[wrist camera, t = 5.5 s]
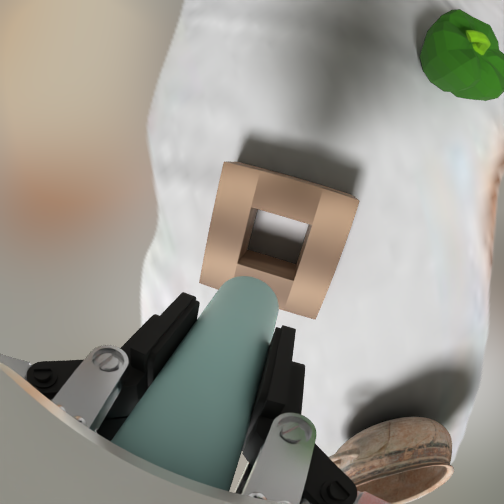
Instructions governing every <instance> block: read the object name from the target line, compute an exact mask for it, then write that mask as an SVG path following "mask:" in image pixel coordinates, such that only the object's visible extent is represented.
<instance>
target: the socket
mask: <svg viewBox="0 0 504 504" xmlns="http://www.w3.org/2000/svg"><path fill="white" fill-rule="evenodd" d="M358 204H359V200H358V199H357V198H355V197H354V196H353V195H351V194H348V193H345V192H342V191H339V190H336V189H333V188H330V187H326V186H323V185H320V184H317V183H314V182H310V181H307V180H304V179H300V178H297V177H293V176H290V175H286V174H283V173H279V172H275V171H271V170H268V169H264V168H260V167H256V166H252V165H248V164H244V163H240V162H224V164H223V168H222V172H221V177H220V181H219V186H218V190H217V195H216V199H215V204H214V209H213V214H212V218H211V223H210V228H209V233H208V238H207V244H206V249H205V254H204V259H203V265H202V270H201V276H200V281H199V283H201V284H204V285H207V286H209V287H212V288H215V289H218V290H219V289H220V287H221V286H222V285H223V284H224V283H225V282H226V281H228V280H229V279H232V278H234V277H239V276H249V277H253V278H256V279H259V280H261V281H263V282H264V283H266V284H267V285H268V286H269V287H270V288H271V289H272V290H273V292H274V293H275V295H276V297H277V300H278V305H279V309H281V310H284V311H288V312H291V313H294V314H298V315H301V316H305V317H308V318H311V319H316V317H317V315H318V312H319V310H320V308H321V305H322V303H323V300H324V298H325V295H326V293H327V291H328V288H329V286H330V283H331V280H332V278H333V275H334V273H335V270H336V267H337V265H338V262H339V259H340V257H341V254H342V251H343V249H344V246H345V243H346V240H347V237H348V234H349V231H350V229H351V226H352V223H353V220H354V217H355V214H356V210H357V207H358ZM258 209H259V210H263V211H266V212H270V213H273V214H277V215H280V216H284V217H287V218H290V219H294V220H297V221H300V222H303V223H307V224H309V226H308V229H307V233H306V236H305V239H304V242H303V245H302V248H301V251H300V255H299V258H298V261H297V264H294V263H290V262H287V261H284V260H281V259H277V258H274V257H271V256H268V255H264V254H261V253H258V252H254V251H251V250H248V245H249V241H250V237H251V233H252V229H253V225H254V221H255V217H256V214H257V210H258Z"/></svg>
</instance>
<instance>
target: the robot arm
mask: <svg viewBox="0 0 504 504" xmlns="http://www.w3.org/2000/svg"><path fill="white" fill-rule="evenodd" d="M198 310H199V301H196V297H195V296H192V295H189V294H187V293H184V292H183V293H181V294H180V295H179V296H178V297H177V299H176V300H175V301H174V302H173V303H172V304H171V305H170V306H169V307H168V308H167V309H166V310H165V311H164V312H163V313H162V314H161V315H160V316H159V315H156V314H155V315H153V316H152V317H151V318H150V319H149V320H148V321H147V322H146V323H145V324H144V325H143V326H142V327H141V328H140V329H139V330H138V331H137V332H136V333H135V334H134V335H133V336H132V337H131V338H130V339H129V340H128V341H127V342H126V343H125V344H124V345H123V346H122V347H121V348H118V347H116V346H112V345H103V346H99V347H96V348H94V349H93V350H92V351H91V352H90V353H89V354H88V355H87V357H86V358H85V359H84V360H70V361H43V362H37V363H35V364H33V365H31V364H30V362H27V361H24V360H19V359H16V358H12V357H9V356H5V355H2V354H0V504H391V503H389V502H387V501H384V500H382V499H380V498H378V497H376V496H374V495H372V494H370V493H368V492H366V491H364V492H360V491H358V490H357V488H356V485H355V484H354V482H353V481H352V480H351V479H350V478H349V477H348V476H347V475H346V474H345V473H344V472H343V471H342V470H341V469H340V468H339V467H338V466H337V465H336V464H335V463H334V462H333V461H332V460H331V459H330V458H329V457H328V456H327V455H326V454H325V453H324V452H323V451H322V450H321V449H320V448H319V447H318V446H317V445H316V444H315V439H316V429H315V426H314V425H313V423H312V422H311V421H310V420H309V419H308V418H306V417H305V416H303V415H301V411H302V400H303V389H304V376H305V365H304V364H300V363H296V362H293V361H292V356H293V348H294V340H295V332H296V329H294V328H290V327H287V326H284V325H282V327H281V328H278V327H276V329H275V332H274V334H273V337H272V340H271V342H270V345H269V349H268V353H267V357H266V361H265V365H264V368H263V372H262V376H261V380H260V384H259V387H258V391H257V395H256V398H255V402H254V406H253V409H252V413H251V416H250V424H249V427H248V431H247V434H246V438H245V441H244V445H243V448H242V451H243V455H244V456H245V458H246V459H247V461H248V463H247V466H246V468H245V470H244V472H243V474H242V476H241V479H240V481H239V483H238V485H237V487H236V489H235V492H234V493H232V492H229V491H226V490H222V489H219V488H215V487H212V486H209V485H206V484H203V483H200V482H197V481H194V480H192V479H189V478H186V477H183V476H181V475H178V474H176V473H173V472H171V471H168V470H166V469H164V468H161V467H159V466H157V465H155V464H153V463H150V462H148V461H146V460H144V459H142V458H140V457H138V456H136V455H134V454H132V453H130V452H128V451H126V450H125V449H123V448H121V447H119V446H117V445H116V444H114V443H112V442H111V440H112V439H113V437H114V436H115V435H116V433H117V432H118V430H119V429H120V428H121V426H122V425H123V423H124V422H125V420H126V419H127V418H128V416H129V415H130V413H131V412H132V411H133V409H134V408H135V406H136V405H137V403H138V402H139V401H140V399H141V398H142V396H143V395H144V394H145V392H146V391H147V389H148V388H149V387H150V385H151V384H152V382H153V381H154V380H155V378H156V377H157V375H158V374H159V372H160V371H161V370H162V368H163V367H164V365H165V364H166V363H167V361H168V360H169V358H170V357H171V356H172V354H173V353H174V351H175V350H176V349H177V347H178V346H179V344H180V343H181V342H182V340H183V339H184V337H185V336H186V335H187V333H188V332H189V330H190V329H191V328H192V326H193V325H194V323H195V322H196V321H197V315H198Z"/></svg>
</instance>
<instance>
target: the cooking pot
mask: <svg viewBox="0 0 504 504" xmlns="http://www.w3.org/2000/svg"><path fill="white" fill-rule="evenodd" d="M451 455H452V441H451V436H450V434H449V432H448V431H447V430H446V428H445V427H444V426H443V425H441V424H440V423H438V422H437V421H435V420H432V419H429V418H425V417H403V418H397V419H392V420H388V421H385V422H381V423H379V424H376V425H373V426H371V427H369V428H367V429H365V430H363V431H361V432H359V433H358V434H356V435H355V436H353V437H352V438H350V439H349V440H348V441H346V442H345V443H344V444H343V445H342V446H341V447H340V448H339V449H338V451H337V452H336V454H334V455H332V456H330V457H329V458H330V459H331V460H332V461H333V462H334V463H335V464H336V465H337V466H338V467H339V468H340V469H341V470H342V471H343V472H344V473H345V474H346V475H347V476H348V477H349V478H350V479H351V480H352V481H353V482H354V484H355V485H356V488H357V490H358V491H360V492H364V491H366V492H368V493H370V494H372V495H374V496H376V497H378V498H380V499H382V500H384V501H387V502H389V503H391V504H405V503H408V502H411V501H413V500H416V499H418V498H420V497H423V496H425V495H427V494H429V493H430V492H432V491H434V490H435V489H437V488H439V487H440V486H441V485H443V484H444V483H445V482H446V481H447V480H448V479H449V478H450V477H451V476H452V475H453V472H454V468H453V467H452V466H451V465H450V461H451Z"/></svg>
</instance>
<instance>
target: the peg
mask: <svg viewBox="0 0 504 504" xmlns="http://www.w3.org/2000/svg"><path fill="white" fill-rule="evenodd" d="M278 309H279V305H278V300H277V297H276V295H275V293H274V292H273V290H272V289H271V288H270V287H269V286H268V285H267V284H266V283H264V282H263V281H261V280H259V279H256V278H253V277H249V276H239V277H234V278H232V279H229V280H228V281H226V282H225V283H224V284H223V285H222V286H221V287H220V289H219V290H218V291H217V293H216V294H215V296H214V297H213V298H212V300H211V301H210V303H209V304H208V305H207V307H206V308H205V310H204V311H203V312H202V314H201V315H200V317H199V318H198V319H197V321H196V322H195V323H194V325H193V326H192V328H191V329H190V330H189V332H188V333H187V335H186V336H185V337H184V339H183V340H182V342H181V343H180V344H179V346H178V347H177V349H176V350H175V351H174V353H173V354H172V356H171V357H170V358H169V360H168V361H167V363H166V364H165V365H164V367H163V368H162V370H161V371H160V372H159V374H158V375H157V377H156V378H155V380H154V381H153V382H152V384H151V385H150V387H149V388H148V389H147V391H146V392H145V394H144V395H143V396H142V398H141V399H140V401H139V402H138V403H137V405H136V406H135V408H134V409H133V411H132V412H131V413H130V415H129V416H128V418H127V419H126V420H125V422H124V423H123V425H122V426H121V428H120V429H119V430H118V432H117V433H116V435H115V436H114V437H113V439H112V440H111V442H112V443H114V444H116V445H117V446H119V447H121V448H123V449H125V450H126V451H128V452H130V453H132V454H134V455H136V456H138V457H140V458H142V459H144V460H146V461H148V462H150V463H153V464H155V465H157V466H159V467H161V468H164V469H166V470H168V471H171V472H173V473H176V474H178V475H181V476H183V477H186V478H189V479H192V480H194V481H197V482H200V483H203V484H206V485H209V486H212V487H215V488H219V489H222V490H226V491H229V490H230V487H231V484H232V480H233V477H234V474H235V471H236V468H237V465H238V461H239V458H240V455H241V451H242V448H243V445H244V441H245V438H246V434H247V431H248V427H249V424H250V416H251V413H252V409H253V406H254V402H255V398H256V395H257V391H258V387H259V384H260V380H261V376H262V372H263V368H264V365H265V361H266V357H267V353H268V349H269V345H270V342H271V340H272V336H273V332H274V328H275V323H276V319H277V315H278Z"/></svg>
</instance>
